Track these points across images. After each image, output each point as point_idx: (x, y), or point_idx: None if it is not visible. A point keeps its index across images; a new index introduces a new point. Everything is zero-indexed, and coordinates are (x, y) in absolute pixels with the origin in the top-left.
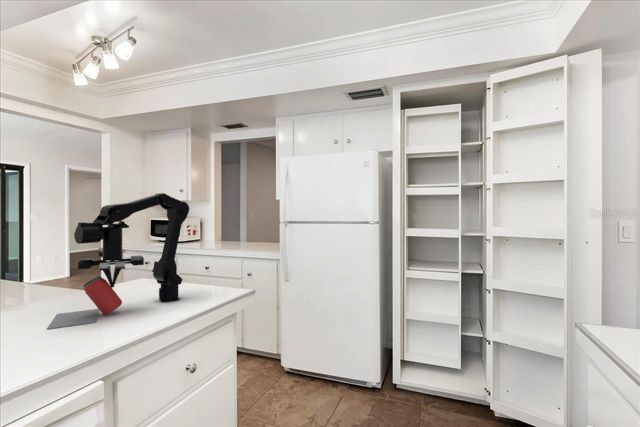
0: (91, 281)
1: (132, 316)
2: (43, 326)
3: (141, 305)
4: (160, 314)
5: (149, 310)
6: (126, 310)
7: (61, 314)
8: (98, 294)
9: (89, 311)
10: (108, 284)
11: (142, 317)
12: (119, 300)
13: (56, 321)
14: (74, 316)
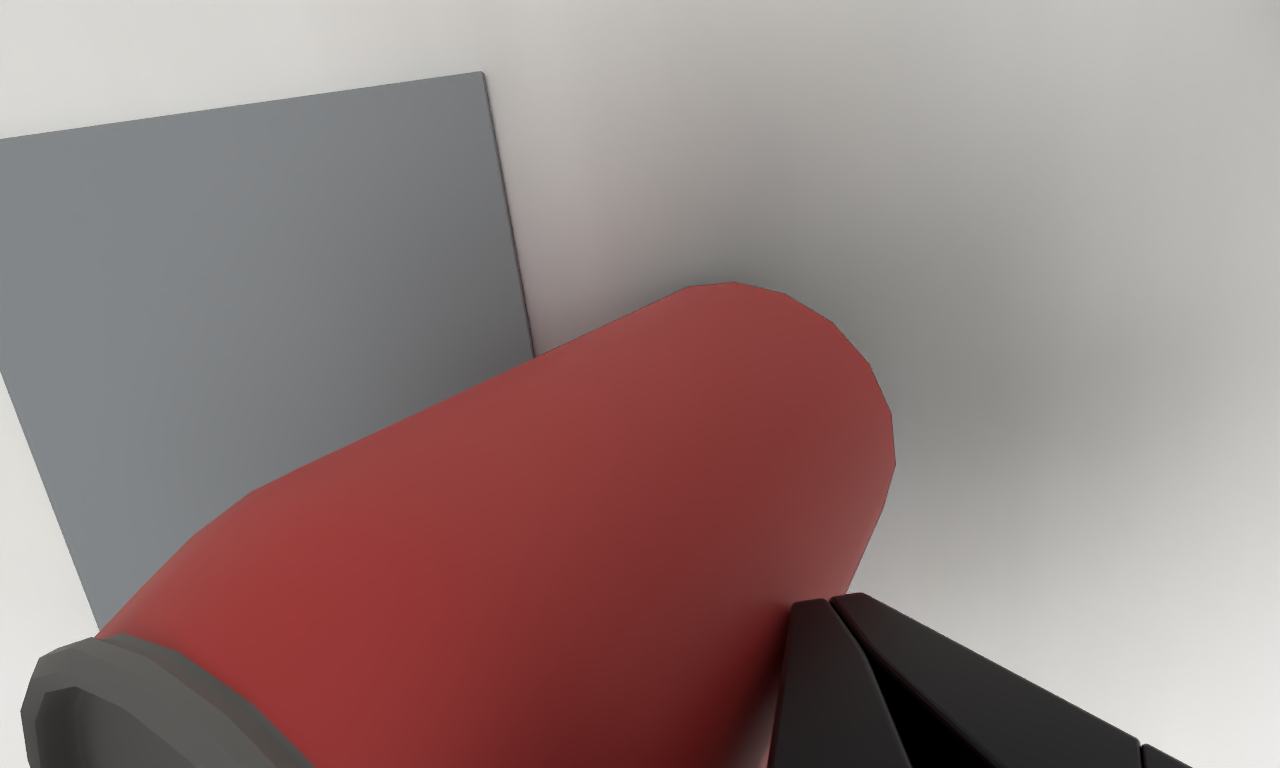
0: None
1: (964, 604)
2: (58, 640)
3: (1090, 72)
4: (1265, 636)
5: (1170, 415)
6: (882, 296)
7: (10, 217)
8: None
9: (375, 202)
10: (758, 764)
11: (1068, 679)
12: (873, 528)
13: (123, 547)
14: (256, 398)
